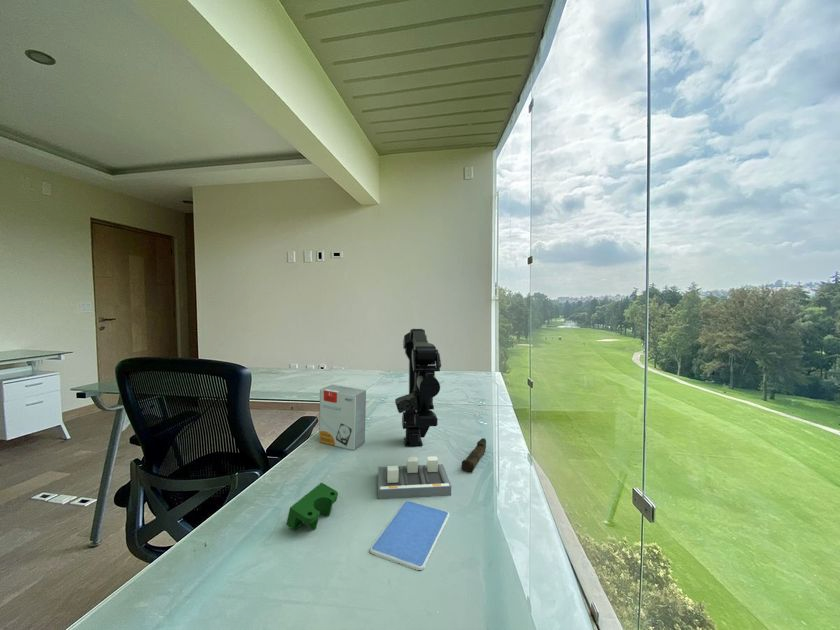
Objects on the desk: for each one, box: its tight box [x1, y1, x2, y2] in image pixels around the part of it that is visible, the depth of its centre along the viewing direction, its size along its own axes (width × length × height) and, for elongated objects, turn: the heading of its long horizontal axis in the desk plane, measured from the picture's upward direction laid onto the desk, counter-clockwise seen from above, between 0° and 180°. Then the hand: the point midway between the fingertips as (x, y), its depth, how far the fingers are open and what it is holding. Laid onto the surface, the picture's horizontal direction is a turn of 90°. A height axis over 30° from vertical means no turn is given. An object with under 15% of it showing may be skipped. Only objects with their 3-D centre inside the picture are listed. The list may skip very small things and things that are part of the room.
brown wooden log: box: [461, 438, 487, 473], centre depth 112 cm, size 19×4×5 cm, turn 150°
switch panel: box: [377, 463, 452, 500], centre depth 96 cm, size 12×20×3 cm, turn 97°
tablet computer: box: [369, 500, 450, 571], centre depth 77 cm, size 19×13×1 cm, turn 158°
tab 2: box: [406, 456, 419, 473], centre depth 99 cm, size 2×3×4 cm
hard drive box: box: [318, 384, 367, 451], centre depth 122 cm, size 16×8×20 cm, turn 68°
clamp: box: [286, 482, 339, 531], centre depth 81 cm, size 12×6×9 cm, turn 151°
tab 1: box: [387, 465, 399, 483], centre depth 93 cm, size 2×3×4 cm
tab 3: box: [426, 456, 439, 472], centre depth 99 cm, size 2×3×4 cm
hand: (422, 437), depth 101 cm, fingers closed
